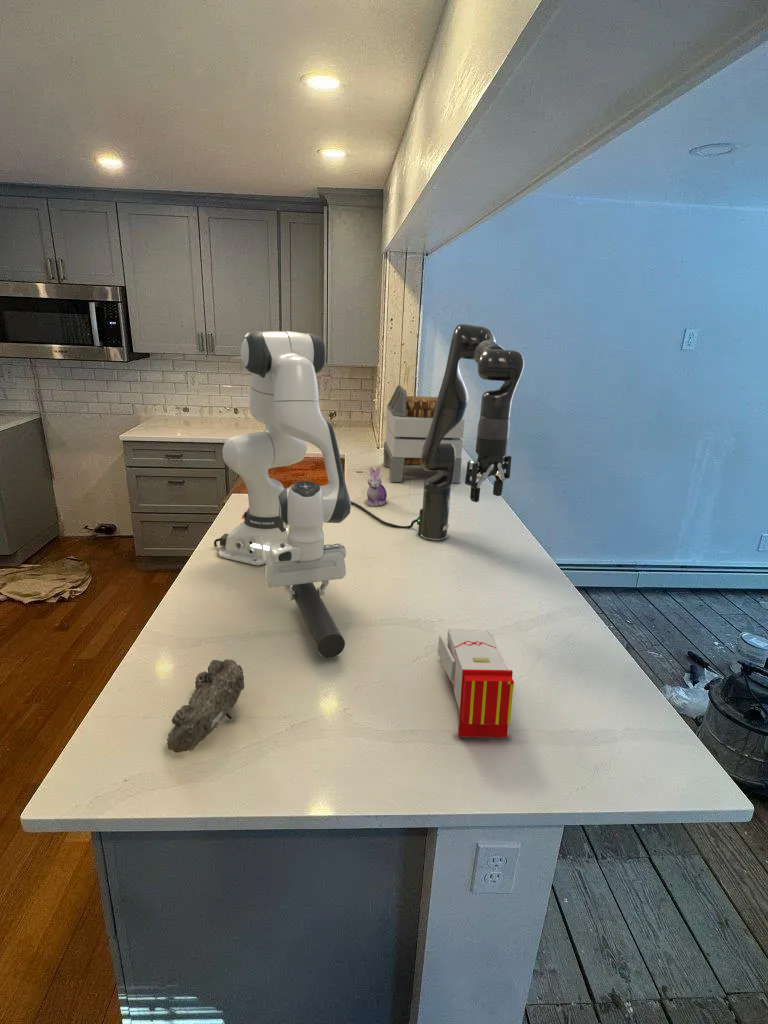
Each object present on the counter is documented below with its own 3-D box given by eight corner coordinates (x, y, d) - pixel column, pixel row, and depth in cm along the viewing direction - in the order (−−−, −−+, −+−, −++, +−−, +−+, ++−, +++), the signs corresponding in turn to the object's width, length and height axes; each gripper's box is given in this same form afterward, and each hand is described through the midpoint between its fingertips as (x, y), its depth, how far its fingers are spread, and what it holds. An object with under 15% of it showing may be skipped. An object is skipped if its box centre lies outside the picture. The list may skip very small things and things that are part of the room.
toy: (488, 613, 130) (523, 677, 101) (484, 667, 133) (517, 744, 104) (435, 612, 130) (455, 676, 101) (432, 666, 133) (451, 743, 103)
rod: (344, 655, 126) (345, 632, 124) (318, 660, 124) (318, 636, 122) (314, 597, 150) (314, 577, 148) (291, 600, 148) (291, 580, 146)
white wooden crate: (382, 463, 289) (386, 382, 275) (445, 464, 293) (451, 384, 279) (390, 482, 257) (394, 392, 243) (460, 483, 261) (468, 394, 247)
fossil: (192, 660, 117) (244, 628, 112) (224, 691, 120) (276, 661, 115) (142, 746, 98) (202, 712, 93) (182, 779, 101) (242, 748, 96)
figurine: (371, 508, 224) (372, 471, 219) (360, 500, 232) (361, 464, 227) (392, 505, 228) (394, 469, 223) (380, 497, 236) (382, 462, 231)
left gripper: (342, 538, 147) (341, 586, 151) (262, 546, 139) (264, 596, 144) (349, 547, 141) (348, 597, 146) (267, 556, 134) (268, 608, 139)
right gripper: (499, 429, 145) (492, 489, 150) (461, 435, 136) (455, 499, 141) (523, 434, 139) (515, 497, 145) (485, 441, 130) (478, 507, 136)
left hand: (306, 597), depth 145 cm, fingers closed on rod, 6 cm apart
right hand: (485, 498), depth 143 cm, fingers open, 8 cm apart
